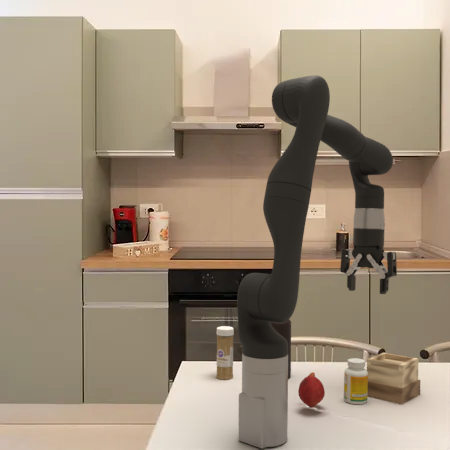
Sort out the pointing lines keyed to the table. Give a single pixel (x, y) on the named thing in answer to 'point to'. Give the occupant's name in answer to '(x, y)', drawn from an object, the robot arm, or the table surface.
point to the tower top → (392, 370)
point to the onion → (311, 390)
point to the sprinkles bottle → (225, 352)
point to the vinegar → (285, 331)
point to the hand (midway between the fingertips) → (367, 292)
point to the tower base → (393, 392)
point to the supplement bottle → (355, 382)
